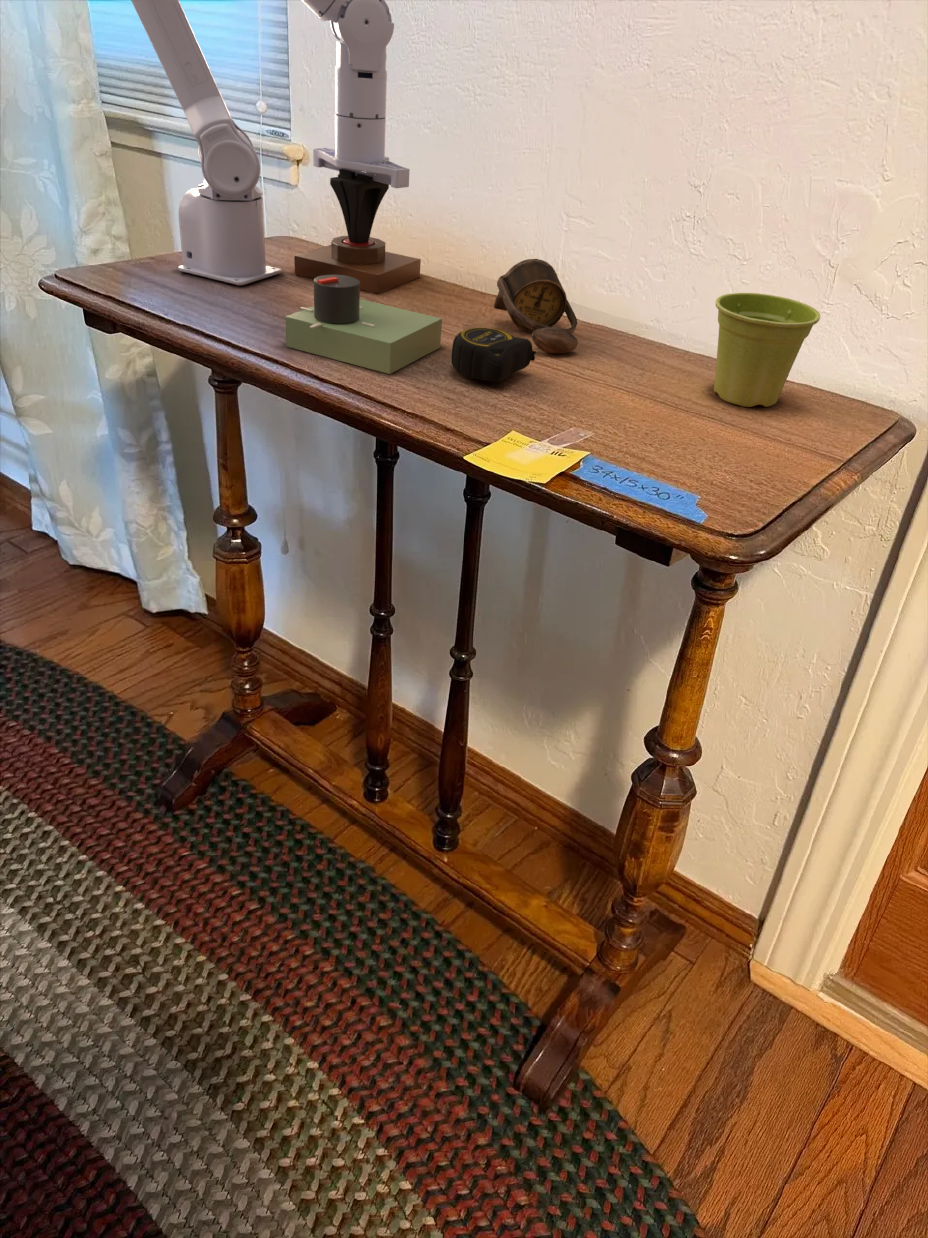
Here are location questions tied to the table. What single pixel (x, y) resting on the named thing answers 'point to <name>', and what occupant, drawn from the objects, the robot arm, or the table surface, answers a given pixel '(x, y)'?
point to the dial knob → (336, 299)
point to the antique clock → (537, 304)
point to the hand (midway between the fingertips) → (358, 241)
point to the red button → (358, 243)
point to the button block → (359, 264)
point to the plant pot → (758, 345)
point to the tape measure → (490, 353)
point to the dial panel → (367, 336)
